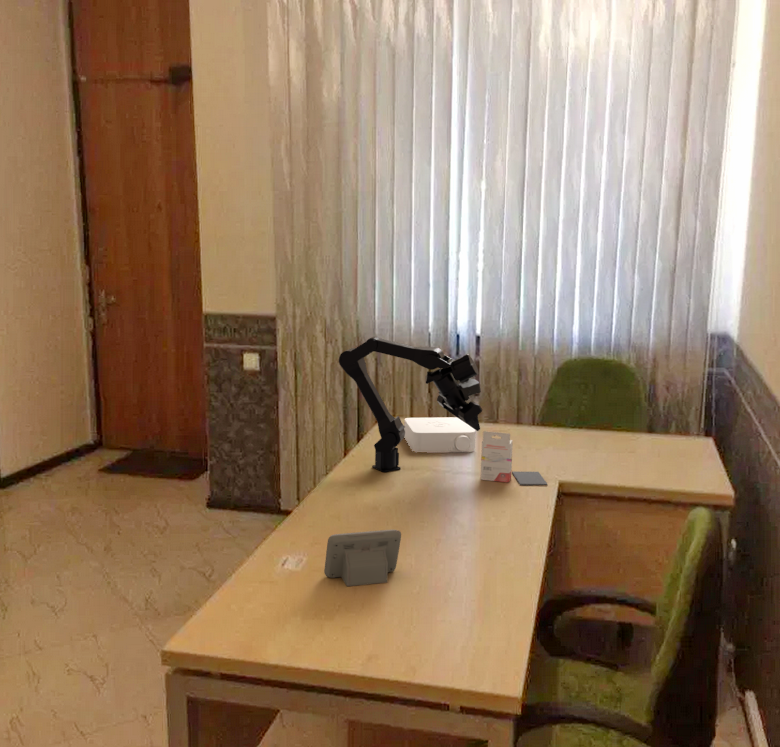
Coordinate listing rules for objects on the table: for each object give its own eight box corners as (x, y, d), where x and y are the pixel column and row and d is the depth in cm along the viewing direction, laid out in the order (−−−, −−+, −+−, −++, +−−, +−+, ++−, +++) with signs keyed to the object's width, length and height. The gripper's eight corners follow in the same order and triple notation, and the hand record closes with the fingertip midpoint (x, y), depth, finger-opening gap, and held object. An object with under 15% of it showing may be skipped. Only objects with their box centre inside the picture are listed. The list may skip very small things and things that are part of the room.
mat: (519, 485, 254) (520, 483, 254) (512, 473, 266) (512, 471, 266) (547, 485, 255) (547, 483, 255) (538, 473, 267) (538, 471, 266)
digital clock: (397, 568, 193) (399, 522, 191) (402, 586, 185) (403, 538, 183) (323, 569, 192) (324, 523, 190) (324, 587, 183) (325, 538, 181)
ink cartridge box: (511, 478, 261) (514, 430, 258) (508, 483, 256) (511, 434, 254) (483, 475, 263) (485, 427, 261) (479, 479, 259) (482, 431, 256)
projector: (414, 455, 284) (414, 434, 283) (402, 437, 306) (403, 417, 305) (477, 454, 287) (478, 433, 286) (461, 436, 309) (462, 417, 308)
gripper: (483, 378, 253) (507, 418, 259) (454, 362, 269) (477, 399, 276) (454, 402, 251) (478, 441, 258) (426, 384, 267) (449, 421, 274)
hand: (471, 425), depth 266 cm, fingers open, 9 cm apart
